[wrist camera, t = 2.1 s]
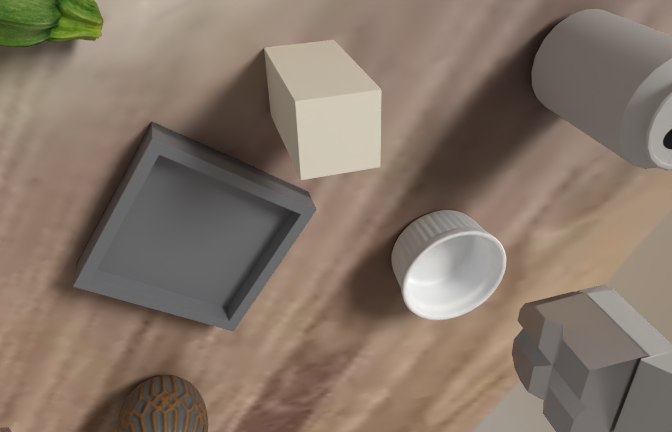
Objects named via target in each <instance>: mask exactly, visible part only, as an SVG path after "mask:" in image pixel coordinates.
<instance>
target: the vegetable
mask: <svg viewBox="0 0 672 432" xmlns="http://www.w3.org/2000/svg"><path fill="white" fill-rule="evenodd" d="M102 25H103V19H102V16H101V14H100V11H99V9H98V6H97V3H96V2H95V1H94V0H0V45H3V46H7V47H28V46H32V45H36V44H39V43H40V42H42V41H44V40H47V41H52V42H63V41H68V40H73V39H84V40H96V38H99V37H100V36H101V35H102V33H101V30H102Z"/></svg>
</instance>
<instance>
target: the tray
mask: <svg viewBox="0 0 672 432" xmlns="http://www.w3.org/2000/svg"><path fill="white" fill-rule="evenodd" d="M315 211H316V207H315V205H314V203H313V201H312V199H311V197H310V195H309V193H308V192H307V191H305V190H303V189H301V188H299V187H296V186H294V185H292V184H290V183H287V182H285V181H283V180H281V179H279V178H276V177H274V176H272V175H270V174H267V173H265V172H263V171H261V170H258V169H256V168H254V167H252V166H250V165H247V164H245V163H243V162H241V161H238V160H236V159H234V158H232V157H229V156H227V155H225V154H223V153H221V152H218V151H216V150H214V149H212V148H209V147H207V146H205V145H203V144H200V143H198V142H196V141H194V140H192V139H189V138H187V137H185V136H183V135H180V134H178V133H176V132H174V131H171V130H169V129H167V128H165V127H163V126H160V125H158V124H156V123H154V122H151V124H150V126H149V128H148V130H147V132H146V134H145V135H144V137H143V139H142V141H141V143H140V145H139V147H138V149H137V151H136V153H135V154H134V156H133V158H132V160H131V162H130V164H129V166H128V168H127V170H126V171H125V173H124V175H123V177H122V179H121V181H120V183H119V185H118V187H117V189H116V190H115V192H114V194H113V196H112V198H111V200H110V202H109V204H108V206H107V208H106V209H105V211H104V213H103V215H102V217H101V219H100V221H99V223H98V225H97V227H96V228H95V230H94V232H93V234H92V236H91V238H90V240H89V242H88V244H87V245H86V247H85V249H84V251H83V253H82V255H81V257H80V259H79V261H78V263H77V265H76V272H75V278H74V285H73V287H76V288H80V289H83V290H87V291H90V292H94V293H98V294H101V295H105V296H108V297H112V298H115V299H119V300H123V301H126V302H130V303H133V304H137V305H141V306H144V307H148V308H151V309H155V310H159V311H162V312H166V313H169V314H173V315H176V316H180V317H184V318H187V319H191V320H194V321H198V322H202V323H205V324H209V325H212V326H216V327H220V328H223V329H227V330H230V331H234V330H235V328H236V327H237V325H238V324H239V322H240V321H241V320H242V318H243V317H244V315H245V314H246V312H247V311H248V309H249V308H250V306H251V305H252V303H253V302H254V300H255V299H256V298H257V296H258V295H259V293H260V292H261V290H262V289H263V287H264V286H265V284H266V283H267V281H268V280H269V278H270V277H271V276H272V274H273V273H274V271H275V270H276V268H277V267H278V265H279V264H280V262H281V261H282V259H283V258H284V256H285V255H286V254H287V252H288V251H289V249H290V248H291V246H292V245H293V243H294V242H295V240H296V239H297V237H298V236H299V234H300V233H301V232H302V230H303V229H304V227H305V226H306V224H307V223H308V221H309V220H310V218H311V217H312V215H313V214H314V212H315Z"/></svg>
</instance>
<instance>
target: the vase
mask: <svg viewBox="0 0 672 432" xmlns="http://www.w3.org/2000/svg"><path fill="white" fill-rule="evenodd" d="M118 432H208V417H207V411H206V406H205V403H204V401H203V398H202V397H201V395H200V393H199V392H198V390H197V389H196V388H195V387H194V386H193V385H192V384H191V383H190V382H188V381H187V380H185V379H183V378H180V377H177V376H173V375H159V376H155V377H152V378H150V379H148V380H146V381H144V382H142V383H141V384H139V385H138V386H137V387H136V388H135V389H134V390H133V391H132V392H131V393H130V394H129V396H128V397H127V399H126V400H125V402H124V404H123V407H122V409H121V412H120V415H119V421H118Z"/></svg>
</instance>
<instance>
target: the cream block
mask: <svg viewBox="0 0 672 432" xmlns="http://www.w3.org/2000/svg"><path fill="white" fill-rule="evenodd" d="M264 53H265V63H266V73H267V83H268V93H269V103H270V113H271V117H272V119H273V121H274V123H275V126H276V128H277V130H278V132H279V134H280V136H281V138H282V141H283V143H284V145H285V147H286V149H287V151H288V153H289V155H290V158H291V160H292V162H293V164H294V166H295V168H296V170H297V173H298V175H299V177H300V179H301V180H305V179H311V178H317V177H323V176H329V175H335V174H341V173H347V172H353V171H359V170H365V169H371V168H377V167H380V143H381V89H380V88H379V87H378V86H377V85H376V83H375V82H374V81H373V80H372V79H371V78H370V77H369V76H368V75H367V74H366V73H365V72H364V71H363V70H362V69H361V68H360V67H359V66H358V65H357V64H356V63H355V62H354V60H353V59H352V58H351V57H350V56H349V55H348V54H347V53H346V52H345V51H344V50H343V49H342V48H341V47H340V46H339V45H338V44H337V43H336V42H335V41H334V40H328V41H320V42H311V43H302V44H294V45H285V46H276V47H267V48H264Z"/></svg>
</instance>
